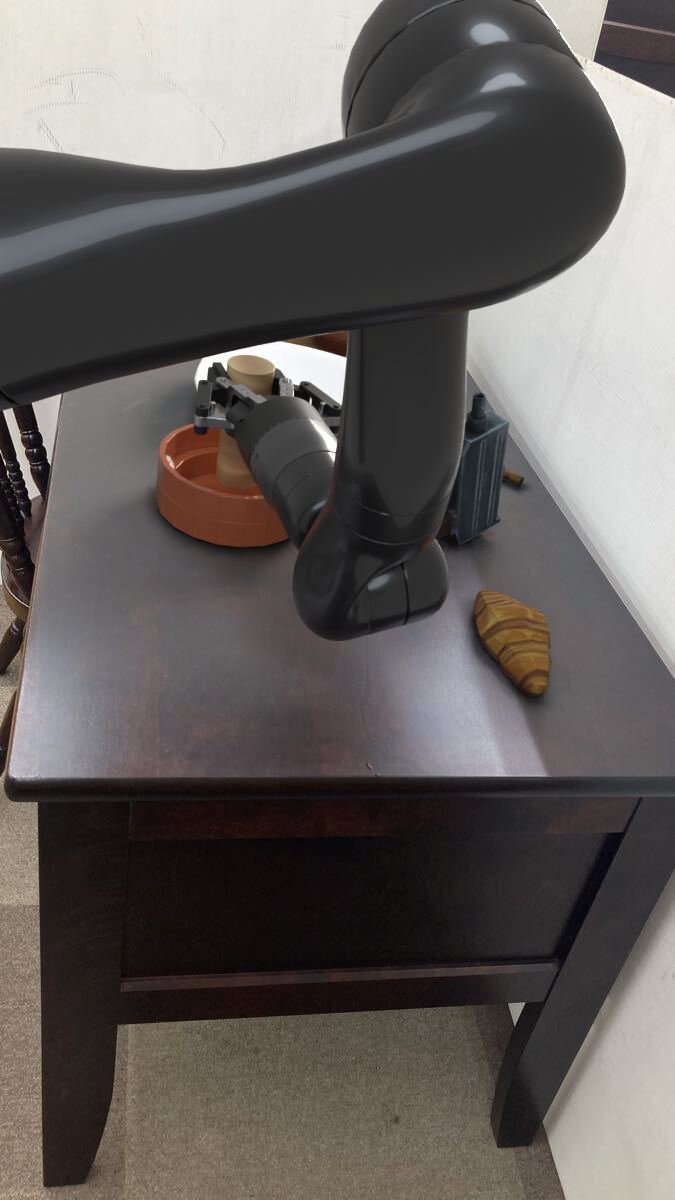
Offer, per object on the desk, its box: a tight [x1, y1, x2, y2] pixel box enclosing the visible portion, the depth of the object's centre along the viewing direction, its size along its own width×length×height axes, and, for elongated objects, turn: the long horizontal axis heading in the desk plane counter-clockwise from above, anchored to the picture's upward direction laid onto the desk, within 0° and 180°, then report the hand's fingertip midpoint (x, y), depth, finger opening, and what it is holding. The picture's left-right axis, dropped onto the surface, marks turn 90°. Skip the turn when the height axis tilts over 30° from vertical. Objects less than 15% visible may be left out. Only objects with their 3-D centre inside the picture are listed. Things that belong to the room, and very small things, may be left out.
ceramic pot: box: [282, 331, 348, 358], centre depth 130 cm, size 18×18×7 cm
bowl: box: [193, 341, 346, 437], centre depth 108 cm, size 22×22×5 cm
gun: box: [435, 391, 510, 546], centre depth 88 cm, size 3×17×15 cm
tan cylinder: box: [216, 355, 275, 489], centre depth 85 cm, size 4×4×12 cm
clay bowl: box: [155, 423, 289, 548], centre depth 89 cm, size 15×15×6 cm
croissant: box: [473, 588, 552, 699], centre depth 79 cm, size 14×7×5 cm, turn 13°
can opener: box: [502, 468, 525, 486], centre depth 108 cm, size 9×2×1 cm, turn 50°
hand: (240, 372), depth 85 cm, fingers closed on tan cylinder, 4 cm apart
